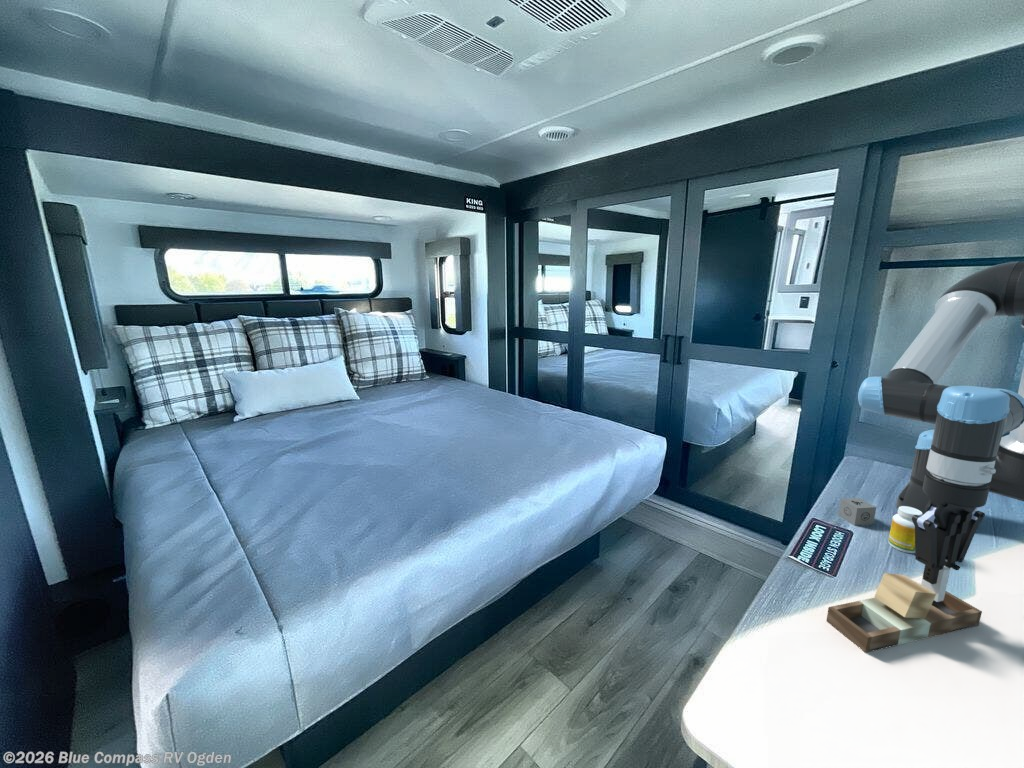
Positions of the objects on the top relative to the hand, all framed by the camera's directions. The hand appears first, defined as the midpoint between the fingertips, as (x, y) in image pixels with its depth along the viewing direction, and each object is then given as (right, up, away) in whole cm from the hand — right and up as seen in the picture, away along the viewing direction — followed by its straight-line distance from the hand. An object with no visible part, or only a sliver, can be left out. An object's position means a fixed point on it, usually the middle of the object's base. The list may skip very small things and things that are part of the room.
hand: (931, 595), depth 74 cm
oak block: (-7, -1, -1) cm, 7 cm away
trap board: (-5, -5, 0) cm, 7 cm away
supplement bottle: (+15, 0, +21) cm, 26 cm away
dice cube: (+14, +3, +33) cm, 36 cm away
